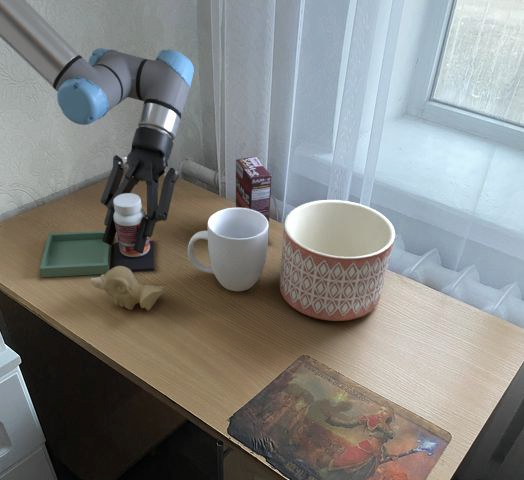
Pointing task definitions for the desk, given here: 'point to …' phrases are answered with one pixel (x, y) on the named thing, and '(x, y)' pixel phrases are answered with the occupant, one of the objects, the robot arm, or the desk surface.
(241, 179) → the supplement box
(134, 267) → the scrub mat
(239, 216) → the mug
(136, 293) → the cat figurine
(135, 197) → the pill bottle
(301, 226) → the planter
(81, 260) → the tray
